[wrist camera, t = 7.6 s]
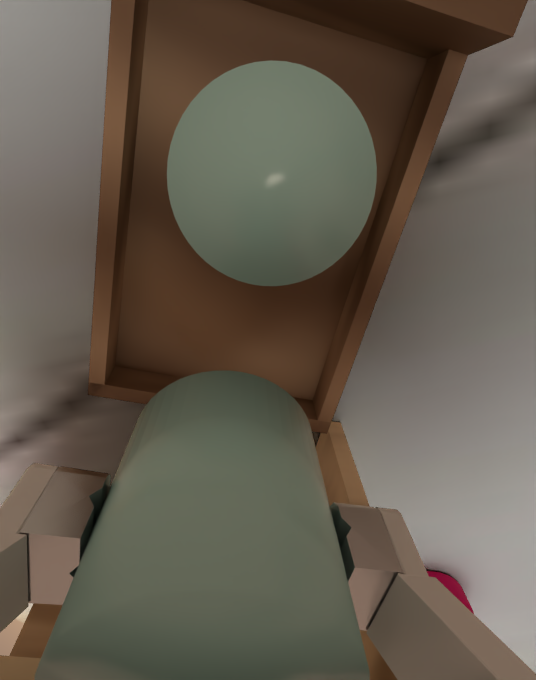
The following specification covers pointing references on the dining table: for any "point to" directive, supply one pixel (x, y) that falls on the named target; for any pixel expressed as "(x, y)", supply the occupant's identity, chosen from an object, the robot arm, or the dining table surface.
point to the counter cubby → (341, 487)
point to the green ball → (271, 173)
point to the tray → (162, 228)
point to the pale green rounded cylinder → (212, 550)
